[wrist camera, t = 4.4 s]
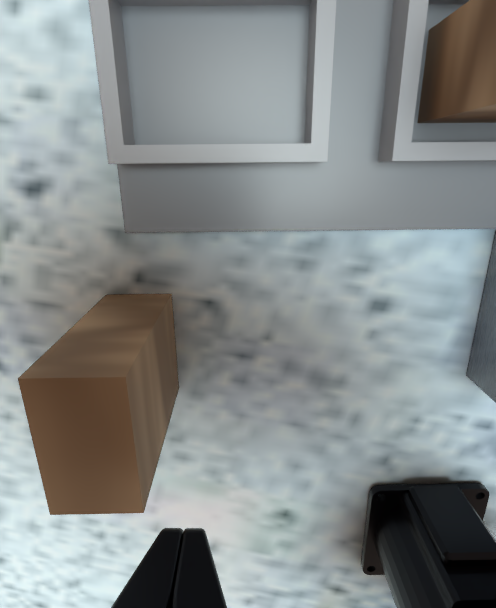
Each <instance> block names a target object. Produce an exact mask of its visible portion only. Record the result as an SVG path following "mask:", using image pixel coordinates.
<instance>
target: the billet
mask: <svg viewBox="0 0 496 608" xmlns="http://www.w3.org/2000/svg"><path fill="white" fill-rule="evenodd" d="M18 381H19V385H20V390H21V394H22V398H23V402H24V406H25V411H26V415H27V419H28V423H29V427H30V432H31V436H32V440H33V444H34V449H35V453H36V457H37V461H38V465H39V470H40V474H41V478H42V482H43V486H44V491H45V495H46V499H47V503H48V507H49V512H50V515H60V514H112V513H144V509H145V506H146V502H147V499H148V495H149V492H150V488H151V485H152V481H153V478H154V474H155V471H156V467H157V464H158V460H159V457H160V453H161V450H162V446H163V442H164V439H165V435H166V432H167V428H168V425H169V421H170V418H171V414H172V411H173V407H174V404H175V400H176V397H177V393H178V390H179V382H178V369H177V356H176V344H175V331H174V318H173V306H172V294H114V295H105V296H104V297H103V298H102V299H101V300H100V301H99V302H98V303H97V304H96V305H95V306H94V307H93V308H92V309H91V310H90V311H89V312H88V313H87V314H85V315H84V316H83V317H82V318H81V319H80V320H79V321H78V322H77V323H76V324H75V325H74V326H73V327H72V328H71V329H70V330H69V331H68V332H67V333H65V334H64V335H63V336H62V337H61V338H60V339H59V340H58V341H57V342H56V343H55V344H54V345H53V346H52V347H51V348H50V349H49V350H48V351H47V352H45V353H44V354H43V355H42V356H41V357H40V358H39V359H38V360H37V361H36V362H35V363H34V364H33V365H32V366H31V367H30V368H29V369H28V370H27V371H25V372H24V373H23V374H22V375H21V376H20V377H19V378H18Z"/></svg>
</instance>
